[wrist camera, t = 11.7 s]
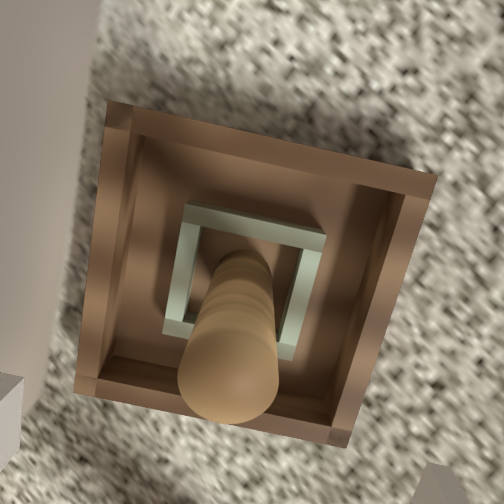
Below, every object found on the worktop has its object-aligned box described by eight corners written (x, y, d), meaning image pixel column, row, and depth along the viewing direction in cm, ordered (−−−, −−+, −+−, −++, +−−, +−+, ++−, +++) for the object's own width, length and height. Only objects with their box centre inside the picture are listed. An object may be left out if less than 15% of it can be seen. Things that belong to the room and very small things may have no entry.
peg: (220, 244, 30) (187, 324, 17) (277, 256, 31) (289, 346, 17) (209, 297, 31) (169, 412, 18) (264, 309, 32) (266, 432, 18)
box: (128, 105, 29) (108, 99, 25) (415, 171, 29) (438, 175, 25) (94, 364, 34) (73, 392, 30) (336, 414, 35) (346, 448, 31)
